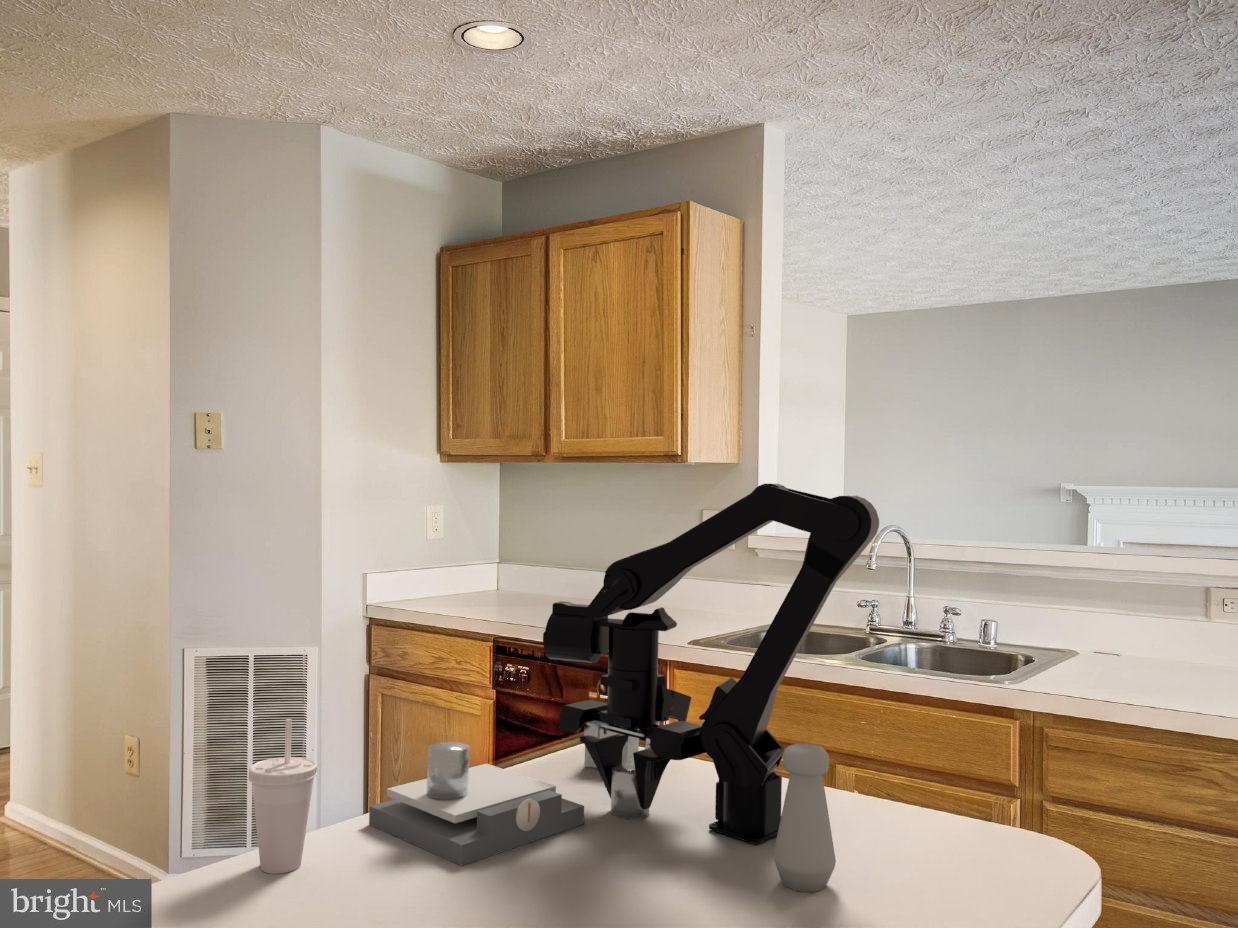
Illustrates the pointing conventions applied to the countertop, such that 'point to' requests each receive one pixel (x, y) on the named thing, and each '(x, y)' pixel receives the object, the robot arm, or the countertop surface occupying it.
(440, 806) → the scale
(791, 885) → the salt shaker
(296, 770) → the smoothie
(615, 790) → the cylinder
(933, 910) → the countertop surface
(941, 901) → the countertop surface
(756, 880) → the countertop surface
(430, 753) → the cylinder
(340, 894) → the countertop surface
